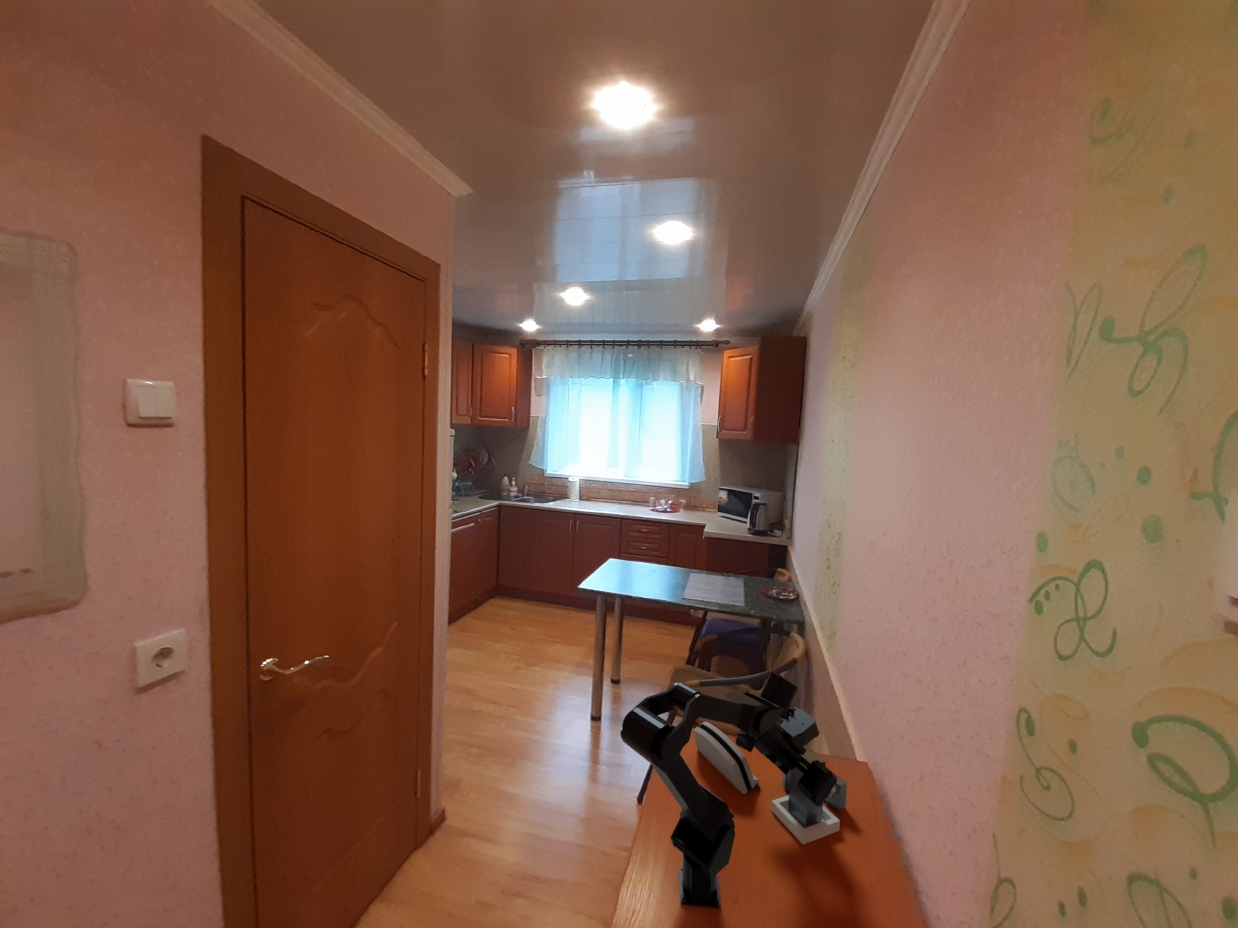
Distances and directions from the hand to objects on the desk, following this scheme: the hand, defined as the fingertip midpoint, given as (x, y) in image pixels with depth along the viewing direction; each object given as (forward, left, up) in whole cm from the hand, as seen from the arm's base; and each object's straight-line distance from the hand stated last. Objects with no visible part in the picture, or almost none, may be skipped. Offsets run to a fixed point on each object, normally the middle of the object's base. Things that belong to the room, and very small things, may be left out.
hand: (811, 778), depth 101 cm
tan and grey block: (-1, +1, -8) cm, 8 cm away
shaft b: (+7, +1, -8) cm, 11 cm away
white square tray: (-1, +1, -8) cm, 8 cm away
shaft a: (+4, -5, -8) cm, 11 cm away
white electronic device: (+13, +16, -9) cm, 22 cm away
